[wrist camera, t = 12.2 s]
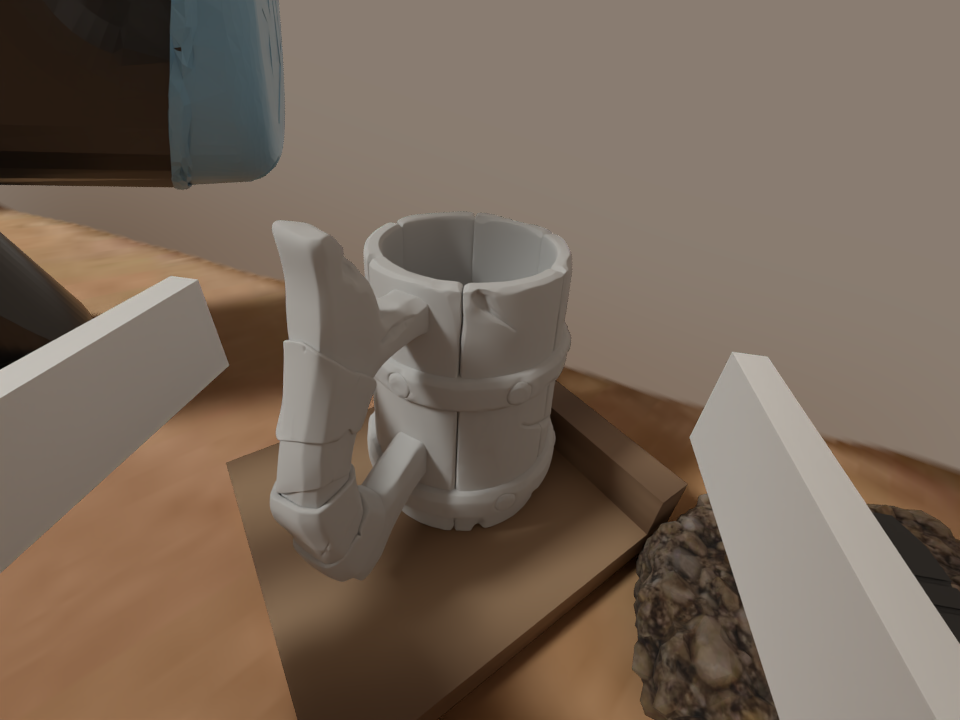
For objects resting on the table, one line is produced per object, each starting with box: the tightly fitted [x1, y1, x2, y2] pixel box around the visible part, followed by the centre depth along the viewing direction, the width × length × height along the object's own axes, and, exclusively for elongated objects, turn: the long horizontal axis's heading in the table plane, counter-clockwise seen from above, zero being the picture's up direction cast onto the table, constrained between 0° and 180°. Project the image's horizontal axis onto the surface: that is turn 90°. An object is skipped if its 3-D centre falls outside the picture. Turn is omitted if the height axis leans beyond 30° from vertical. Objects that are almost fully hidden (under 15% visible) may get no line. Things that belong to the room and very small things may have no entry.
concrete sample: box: [632, 494, 960, 720], centre depth 13 cm, size 12×10×5 cm
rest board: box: [226, 380, 687, 720], centre depth 17 cm, size 12×14×4 cm
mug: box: [270, 212, 572, 582], centre depth 14 cm, size 8×12×12 cm, turn 151°
